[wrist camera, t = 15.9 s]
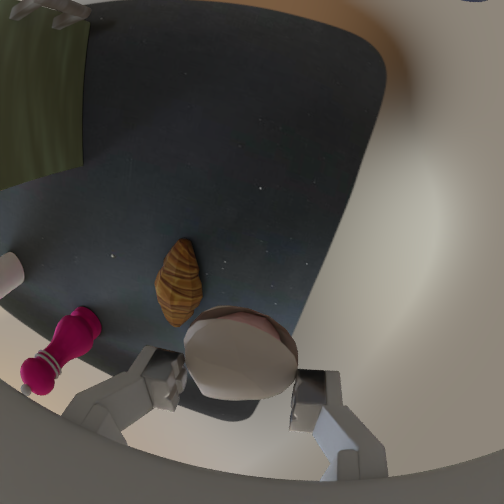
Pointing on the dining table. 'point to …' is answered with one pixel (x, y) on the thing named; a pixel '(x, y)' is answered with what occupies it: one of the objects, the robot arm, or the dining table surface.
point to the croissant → (179, 283)
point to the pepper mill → (60, 351)
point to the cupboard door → (41, 87)
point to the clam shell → (239, 354)
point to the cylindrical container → (10, 273)
